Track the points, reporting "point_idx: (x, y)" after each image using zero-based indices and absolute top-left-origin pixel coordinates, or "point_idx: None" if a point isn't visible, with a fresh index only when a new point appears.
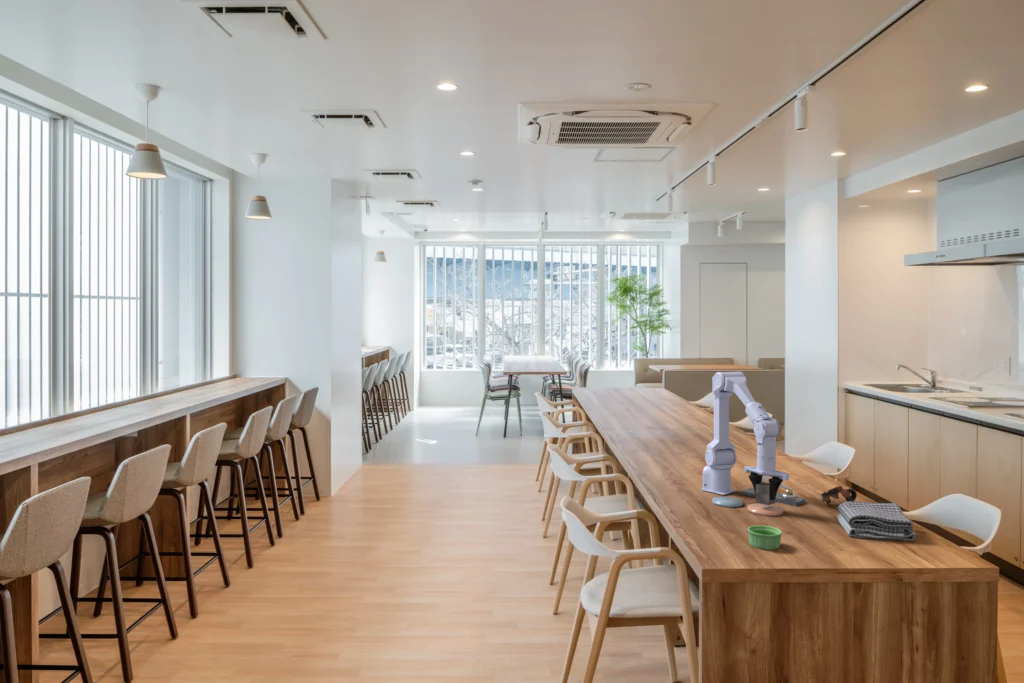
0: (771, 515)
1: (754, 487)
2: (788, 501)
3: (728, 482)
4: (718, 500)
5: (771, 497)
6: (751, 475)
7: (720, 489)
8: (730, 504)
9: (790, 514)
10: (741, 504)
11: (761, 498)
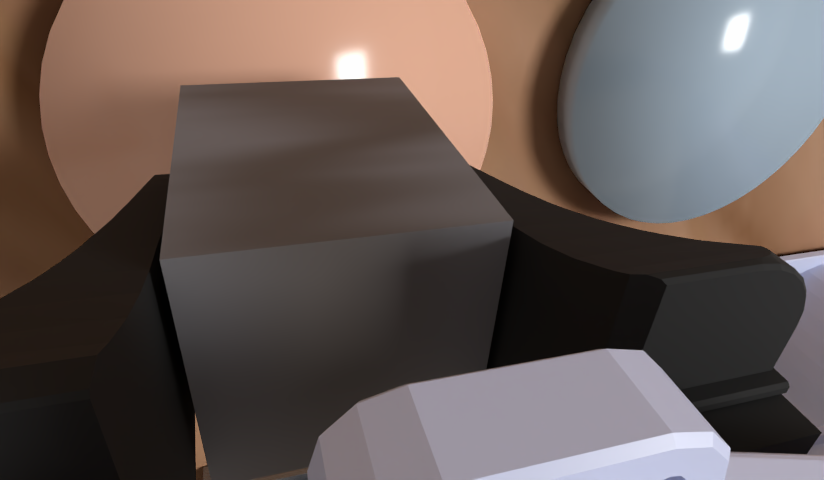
0: None
1: (518, 198)
2: (276, 475)
3: (806, 384)
4: (807, 4)
5: (151, 184)
6: (746, 352)
7: (815, 292)
8: None
9: (21, 247)
10: (569, 97)
11: (319, 112)
